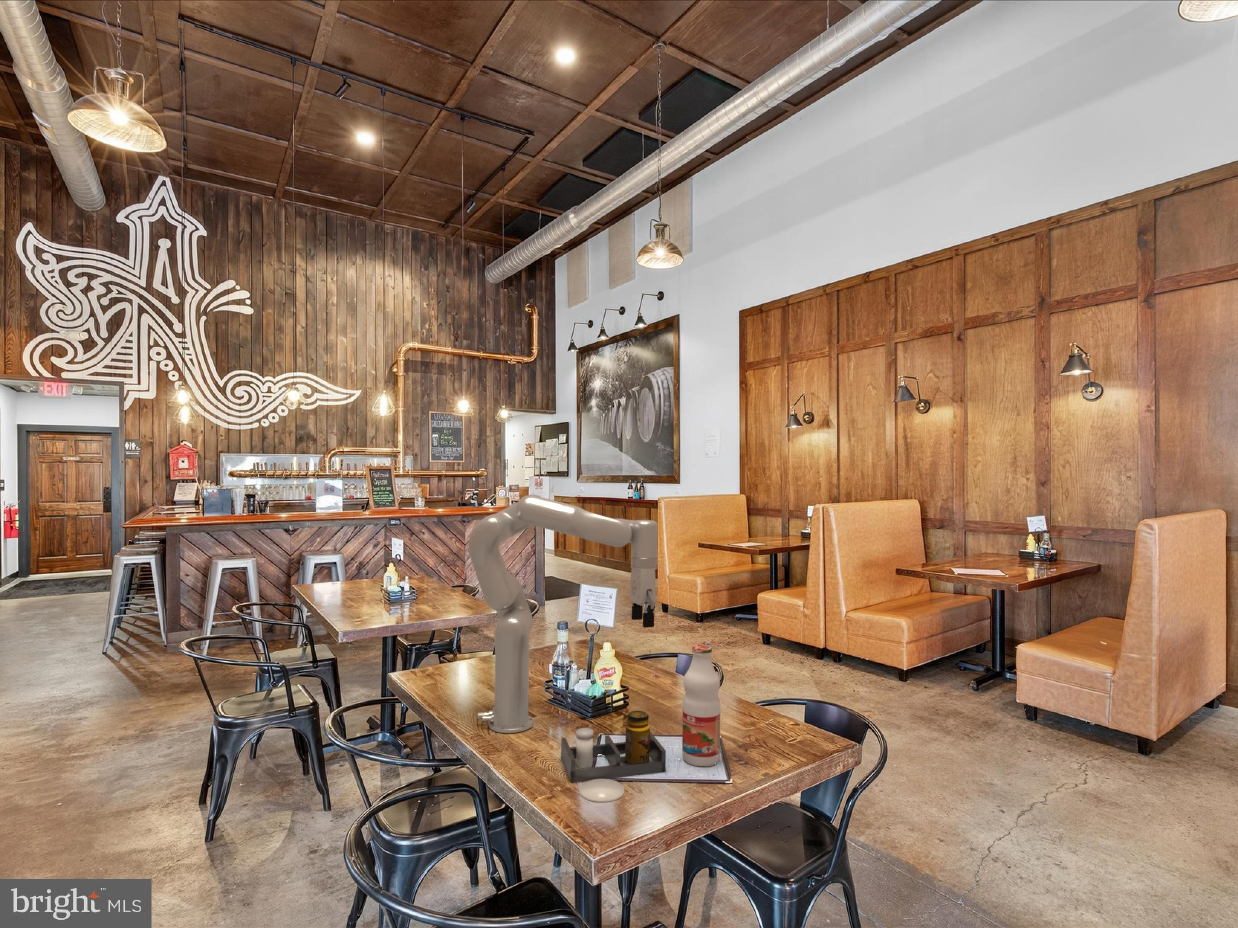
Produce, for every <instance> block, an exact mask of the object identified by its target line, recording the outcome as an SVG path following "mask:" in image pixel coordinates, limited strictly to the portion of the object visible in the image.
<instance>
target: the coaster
mask: <svg viewBox="0 0 1238 928" xmlns="http://www.w3.org/2000/svg"><path fill="white" fill-rule="evenodd" d="M624 794H625V787H624V785H623V784H621V782H619V781H617V780H614V779H611V778H607V779H594V780H590V781H584V783H582V784H581V785H580V786H579V795H580V796H581V797H582V798H583V799H585V800H587V801H590V802H593V803H610V802H615V801H617V800H619V799H621V798H622V797H623V795H624Z"/></svg>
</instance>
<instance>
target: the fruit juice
mask: <svg viewBox="0 0 1238 928" xmlns="http://www.w3.org/2000/svg"><path fill="white" fill-rule="evenodd" d="M691 651H692V654H693V655H692V658H691V659H692V660H691V663H690V665H689V667H688V669H687V671H686V672H685V674H684V677H683V688H684V696H683V699H682V731H681V732H682V733H681V734H682V735H681V736H682V737H681V739H682V740H681V742H682V743H681V744H682V745H681V746H682V751H681V752H682V754H681V755H682V759H683V760H684V761H685V762H686V763H687V764H689V765H692V766H694V767H702V766H706V767H712V766H715V765H716V764H715V763H717V762H718V761H719V762H720V759H721V701H720V697H719V691H720V688H721V682H720V681H721V679H720V677H719V675H718V673H717V672H716V671H715V668H714V665H713V661H712V657H711V655H712V652H713V650H712V646H711V645H708V644H693V646H692V649H691ZM719 762H718V763H719ZM718 763H717V764H718ZM714 764H715V765H714ZM711 765H712V766H711Z"/></svg>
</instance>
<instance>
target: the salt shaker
mask: <svg viewBox="0 0 1238 928" xmlns="http://www.w3.org/2000/svg"><path fill="white" fill-rule="evenodd" d="M575 733H576V734H575V735H576V736H575V737H576V747H577V748H576V759H575V766H576V767H578V768H579V769H581V768H590V767H593V762H594V760H593V758H594V757H593V745H594V729H592V728H589V727H581V728H578V729H577V730H576V731H575Z"/></svg>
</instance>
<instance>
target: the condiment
mask: <svg viewBox="0 0 1238 928" xmlns="http://www.w3.org/2000/svg"><path fill="white" fill-rule="evenodd" d="M649 718H650V717H649V714H648V713H647V712H646V711H643V710H632V711H630V712H628V714H627V720H626V722H627V723H626V724H625V741H624V742H625V754H624V755H623V756H622V755H620V764H627V763H636V762H646V761H651V757H650V732H651V725H650V724H649V722H650V721H649Z"/></svg>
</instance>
